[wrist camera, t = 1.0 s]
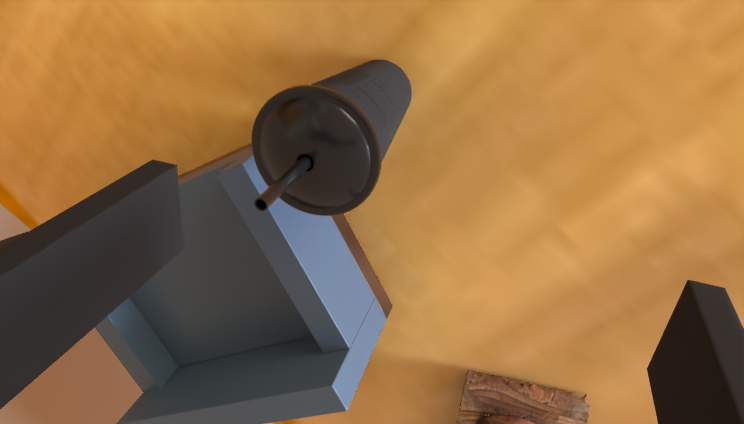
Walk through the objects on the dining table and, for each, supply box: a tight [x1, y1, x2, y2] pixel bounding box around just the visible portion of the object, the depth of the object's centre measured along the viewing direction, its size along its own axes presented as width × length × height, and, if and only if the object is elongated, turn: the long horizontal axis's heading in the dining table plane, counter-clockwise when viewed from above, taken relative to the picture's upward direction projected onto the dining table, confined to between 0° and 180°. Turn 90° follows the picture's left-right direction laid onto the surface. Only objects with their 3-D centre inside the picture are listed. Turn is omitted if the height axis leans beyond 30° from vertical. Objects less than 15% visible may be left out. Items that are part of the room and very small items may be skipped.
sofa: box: [95, 143, 392, 424], centre depth 48 cm, size 19×24×13 cm
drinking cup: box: [252, 60, 411, 216], centre depth 33 cm, size 8×8×20 cm
